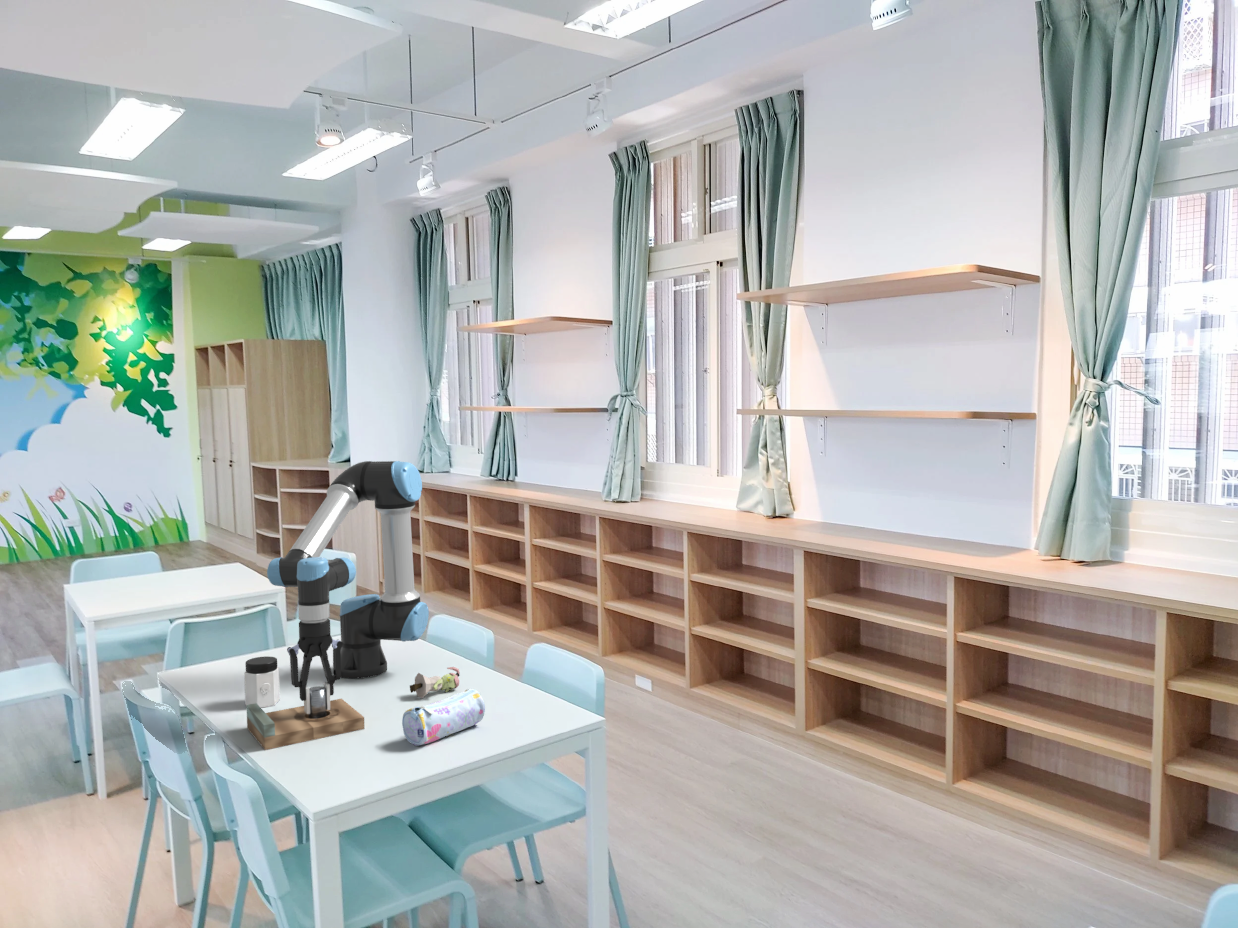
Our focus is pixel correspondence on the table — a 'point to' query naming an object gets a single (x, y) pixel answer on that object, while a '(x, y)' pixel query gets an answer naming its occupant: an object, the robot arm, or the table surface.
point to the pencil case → (443, 717)
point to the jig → (300, 724)
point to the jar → (262, 681)
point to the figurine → (435, 683)
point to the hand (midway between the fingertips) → (317, 709)
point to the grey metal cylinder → (317, 702)
